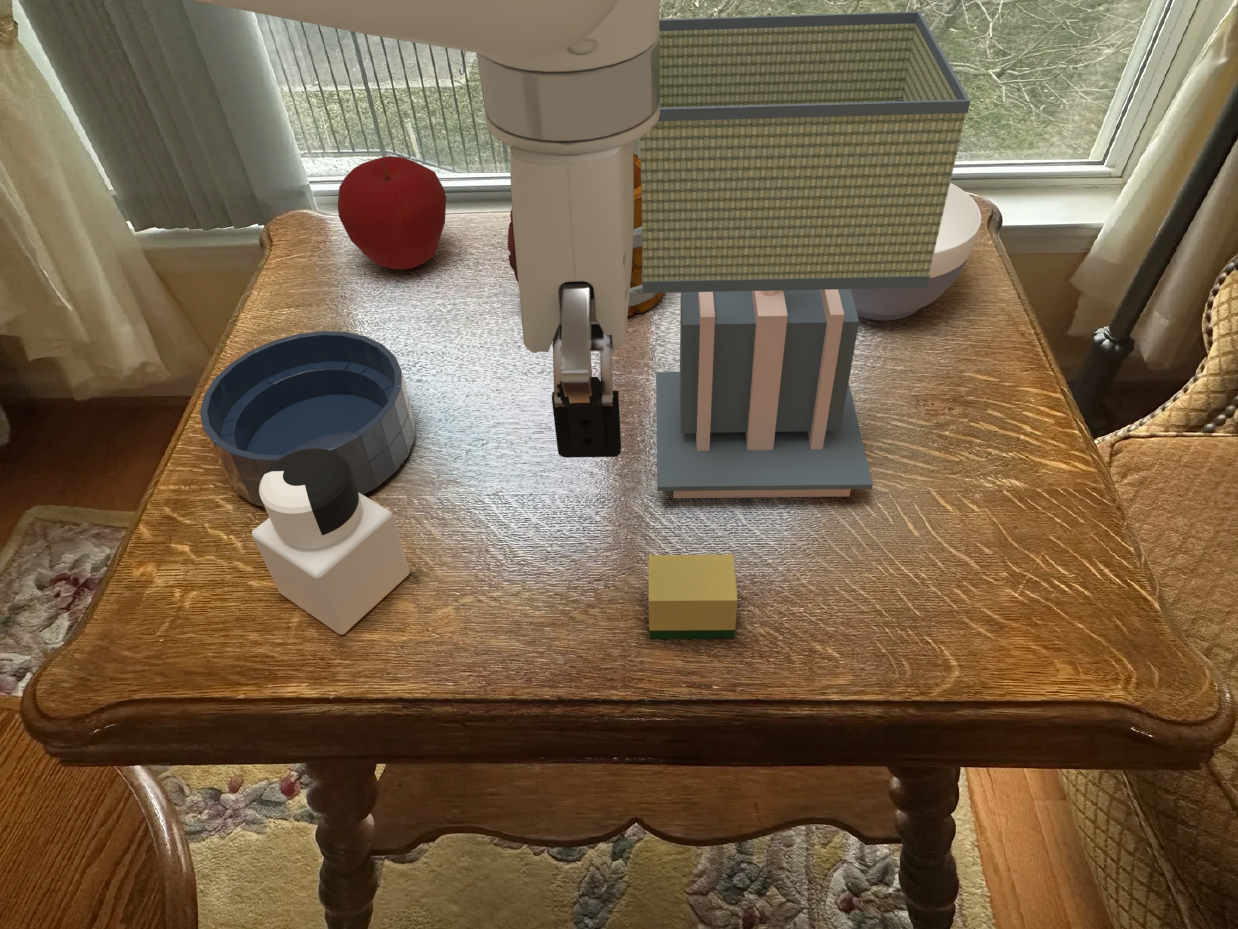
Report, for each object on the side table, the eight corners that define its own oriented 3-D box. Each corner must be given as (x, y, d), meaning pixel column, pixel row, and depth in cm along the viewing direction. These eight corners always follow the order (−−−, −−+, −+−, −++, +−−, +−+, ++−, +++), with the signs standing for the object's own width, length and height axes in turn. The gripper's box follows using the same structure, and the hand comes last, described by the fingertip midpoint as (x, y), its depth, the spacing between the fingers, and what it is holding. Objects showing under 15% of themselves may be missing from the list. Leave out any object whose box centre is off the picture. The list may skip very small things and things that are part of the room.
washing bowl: (313, 546, 74) (289, 490, 69) (188, 465, 81) (159, 408, 76) (454, 430, 83) (442, 372, 78) (330, 365, 90) (312, 310, 85)
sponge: (649, 639, 67) (648, 600, 63) (649, 593, 69) (648, 554, 66) (734, 638, 66) (737, 600, 63) (730, 593, 69) (733, 554, 66)
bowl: (790, 251, 101) (799, 168, 94) (941, 250, 100) (961, 166, 93) (805, 342, 90) (816, 256, 83) (975, 342, 89) (1000, 254, 82)
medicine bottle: (348, 533, 75) (307, 422, 66) (412, 573, 72) (378, 461, 63) (277, 593, 71) (224, 483, 62) (342, 638, 68) (295, 528, 59)
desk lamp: (850, 390, 85) (919, 9, 62) (878, 506, 75) (971, 103, 52) (647, 393, 85) (639, 18, 62) (647, 508, 75) (638, 112, 52)
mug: (687, 303, 95) (689, 164, 84) (533, 346, 91) (516, 206, 80) (644, 251, 102) (641, 117, 92) (500, 289, 98) (479, 153, 88)
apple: (342, 288, 99) (312, 187, 91) (371, 234, 107) (346, 136, 98) (443, 291, 98) (422, 189, 90) (466, 236, 106) (449, 137, 97)
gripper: (503, 9, 46) (538, 300, 58) (452, 185, 34) (509, 508, 46) (657, 4, 45) (660, 298, 58) (662, 180, 33) (664, 507, 45)
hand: (593, 391), depth 52 cm, fingers open, 9 cm apart
